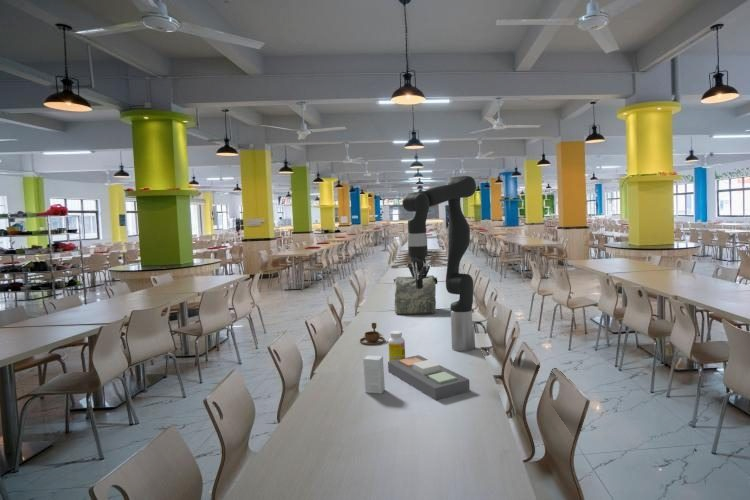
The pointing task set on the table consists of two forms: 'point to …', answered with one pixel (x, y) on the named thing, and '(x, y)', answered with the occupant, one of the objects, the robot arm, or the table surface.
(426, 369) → the grey key
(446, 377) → the sage key
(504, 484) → the table surface
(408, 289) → the lunch bag
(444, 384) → the keypad
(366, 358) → the skincare box
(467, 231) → the robot arm
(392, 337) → the supplement bottle
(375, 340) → the place setting
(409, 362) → the terracotta key
